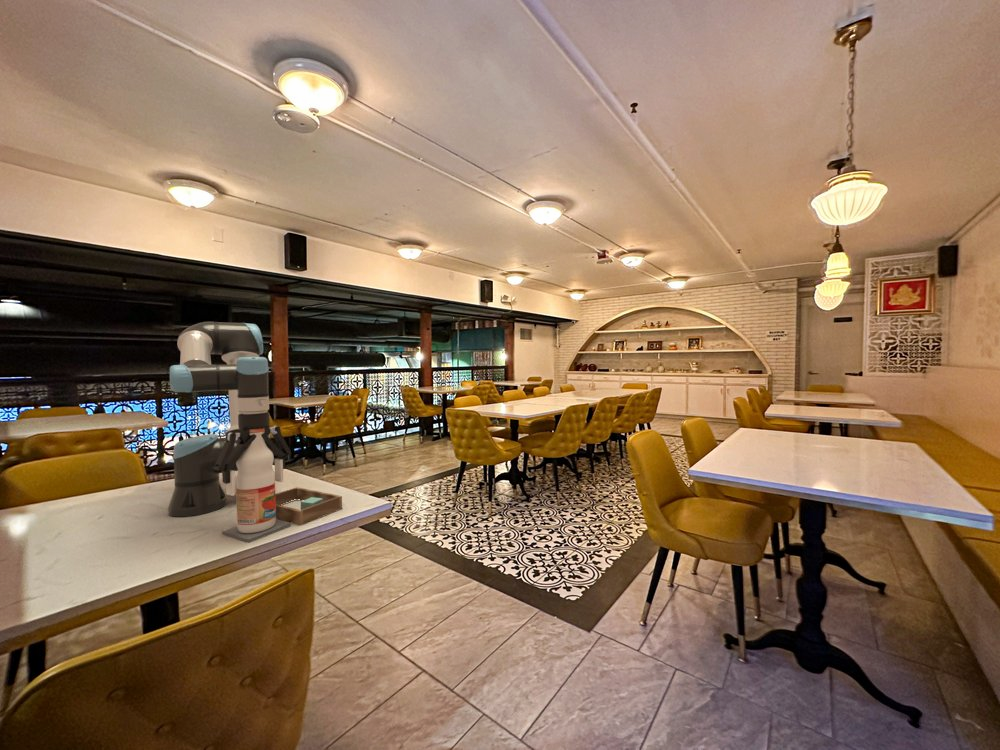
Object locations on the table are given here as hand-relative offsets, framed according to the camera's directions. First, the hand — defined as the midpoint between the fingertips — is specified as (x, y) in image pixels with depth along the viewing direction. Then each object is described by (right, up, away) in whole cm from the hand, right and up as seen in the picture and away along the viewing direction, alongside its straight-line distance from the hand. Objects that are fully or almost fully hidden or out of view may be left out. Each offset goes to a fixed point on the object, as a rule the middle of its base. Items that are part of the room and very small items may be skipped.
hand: (256, 487), depth 113 cm
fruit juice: (0, -11, 0) cm, 11 cm away
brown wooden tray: (+4, -12, +15) cm, 19 cm away
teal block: (+10, -12, +12) cm, 20 cm away
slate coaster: (0, -12, 0) cm, 12 cm away
